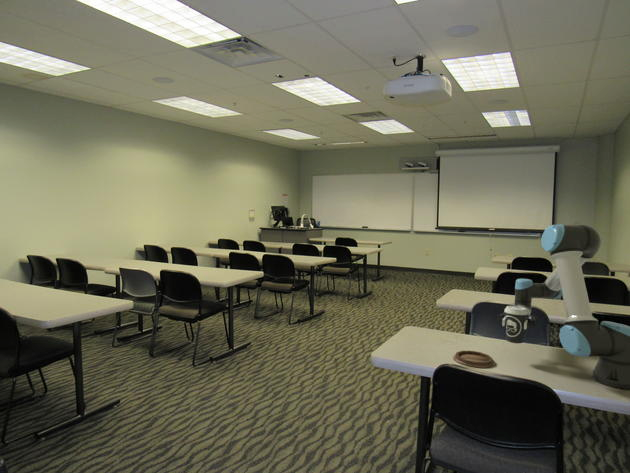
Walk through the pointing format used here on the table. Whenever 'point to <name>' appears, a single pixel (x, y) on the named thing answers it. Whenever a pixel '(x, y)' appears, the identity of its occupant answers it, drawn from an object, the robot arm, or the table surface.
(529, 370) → the table surface
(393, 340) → the table surface
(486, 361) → the coaster
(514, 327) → the coffee cup
